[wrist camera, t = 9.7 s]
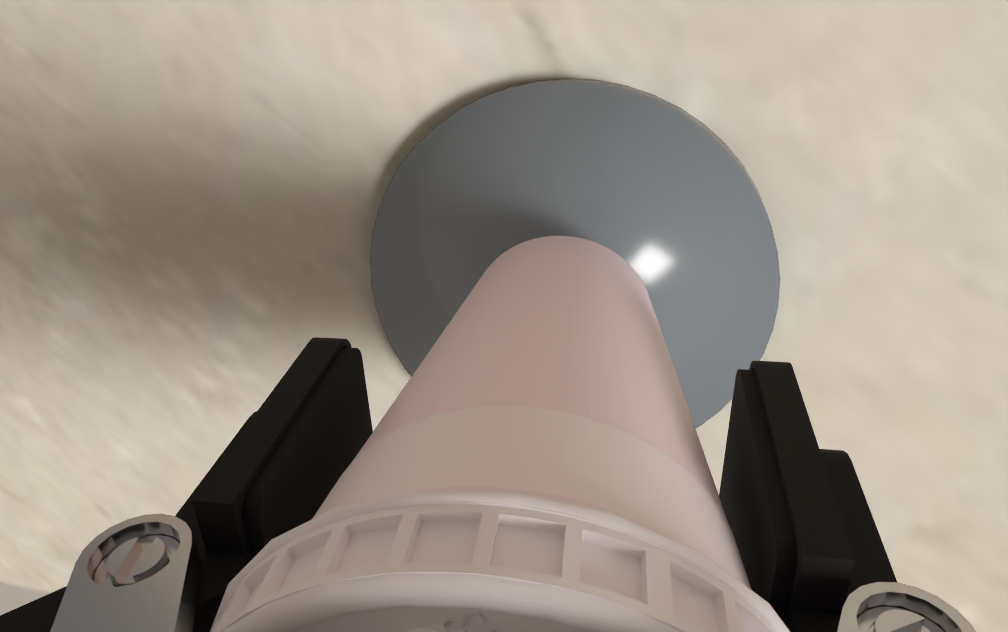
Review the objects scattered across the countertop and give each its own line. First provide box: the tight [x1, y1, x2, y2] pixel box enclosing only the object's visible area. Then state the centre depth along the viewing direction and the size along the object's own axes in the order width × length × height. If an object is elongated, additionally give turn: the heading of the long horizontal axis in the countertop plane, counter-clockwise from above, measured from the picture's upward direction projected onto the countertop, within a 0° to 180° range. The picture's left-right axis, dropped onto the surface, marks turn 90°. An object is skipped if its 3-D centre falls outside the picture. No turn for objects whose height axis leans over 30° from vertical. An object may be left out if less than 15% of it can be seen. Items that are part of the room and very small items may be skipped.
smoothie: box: [210, 236, 790, 632], centre depth 9 cm, size 6×6×14 cm
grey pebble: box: [370, 78, 780, 429], centre depth 17 cm, size 9×9×1 cm
